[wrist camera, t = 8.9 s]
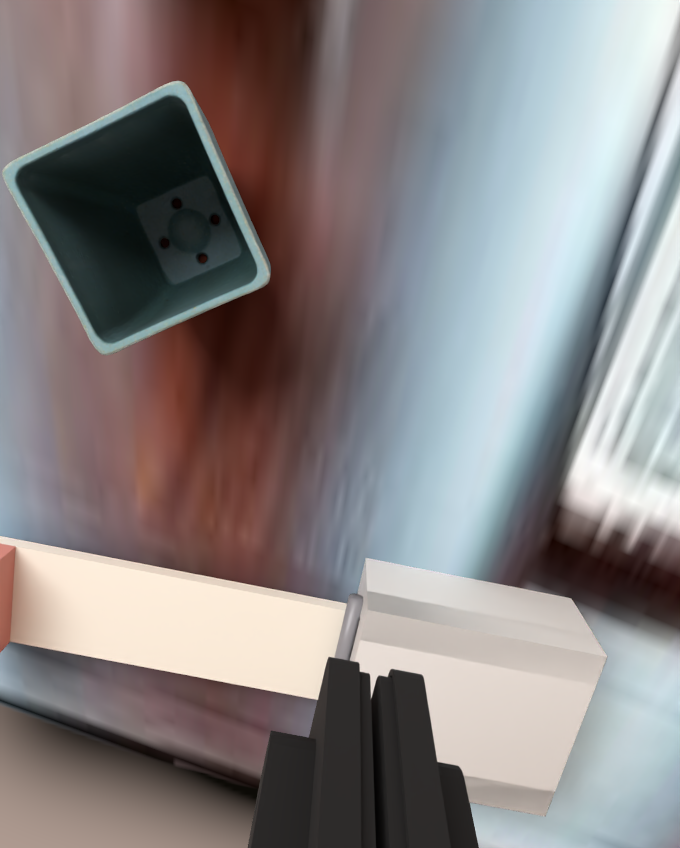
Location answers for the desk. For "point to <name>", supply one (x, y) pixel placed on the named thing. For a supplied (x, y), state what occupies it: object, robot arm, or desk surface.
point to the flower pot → (140, 218)
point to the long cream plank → (165, 618)
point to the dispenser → (481, 673)
